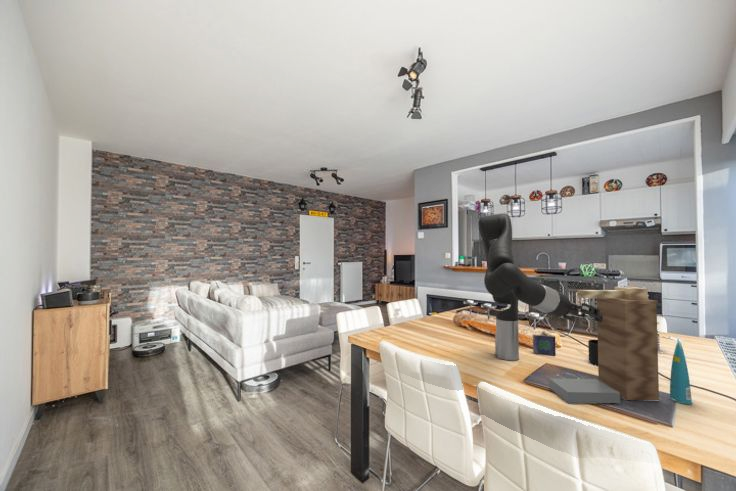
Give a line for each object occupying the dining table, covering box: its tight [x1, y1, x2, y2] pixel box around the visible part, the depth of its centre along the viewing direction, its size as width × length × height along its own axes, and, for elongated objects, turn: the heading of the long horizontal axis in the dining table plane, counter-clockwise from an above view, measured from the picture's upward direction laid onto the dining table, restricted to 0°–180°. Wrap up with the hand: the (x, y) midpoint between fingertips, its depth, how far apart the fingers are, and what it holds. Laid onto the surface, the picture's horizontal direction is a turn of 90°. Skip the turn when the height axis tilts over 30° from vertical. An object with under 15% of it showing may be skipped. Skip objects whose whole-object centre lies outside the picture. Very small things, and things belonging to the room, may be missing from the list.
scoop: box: [577, 286, 649, 299], centre depth 101 cm, size 20×6×4 cm, turn 88°
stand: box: [596, 298, 660, 401], centre depth 100 cm, size 11×13×32 cm
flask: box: [532, 330, 557, 357], centre depth 138 cm, size 9×3×11 cm, turn 71°
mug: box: [587, 339, 598, 367], centre depth 126 cm, size 9×12×9 cm
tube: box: [669, 337, 693, 405], centre depth 94 cm, size 7×5×19 cm, turn 140°
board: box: [549, 378, 621, 405], centre depth 97 cm, size 16×10×4 cm, turn 88°
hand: (586, 318), depth 91 cm, fingers open, 8 cm apart
